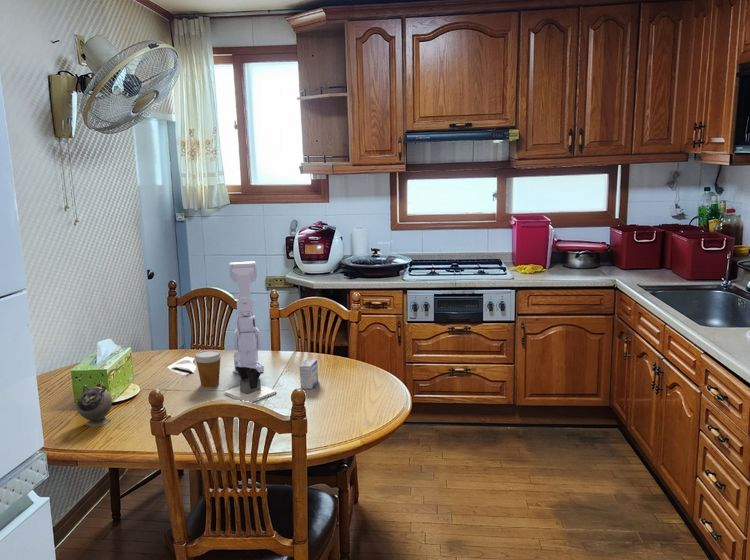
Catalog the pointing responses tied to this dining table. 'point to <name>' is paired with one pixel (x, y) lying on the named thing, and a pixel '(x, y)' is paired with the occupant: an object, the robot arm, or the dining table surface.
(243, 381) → the block
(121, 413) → the dining table surface
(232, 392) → the board
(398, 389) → the dining table surface
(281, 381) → the dining table surface
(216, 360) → the disposable coffee cup
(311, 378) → the medicine box
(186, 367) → the cloth
